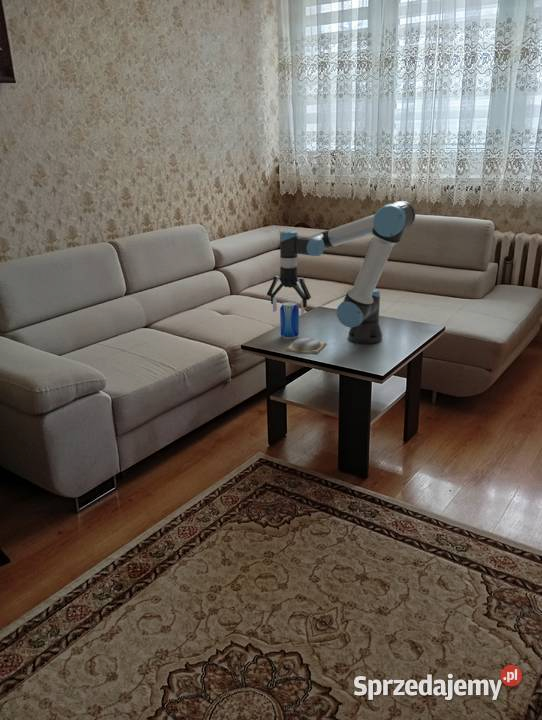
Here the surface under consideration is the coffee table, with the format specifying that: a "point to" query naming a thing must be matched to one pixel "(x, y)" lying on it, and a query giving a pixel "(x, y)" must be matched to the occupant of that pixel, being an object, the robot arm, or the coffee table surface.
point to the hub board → (307, 345)
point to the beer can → (289, 320)
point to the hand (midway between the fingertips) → (288, 312)
